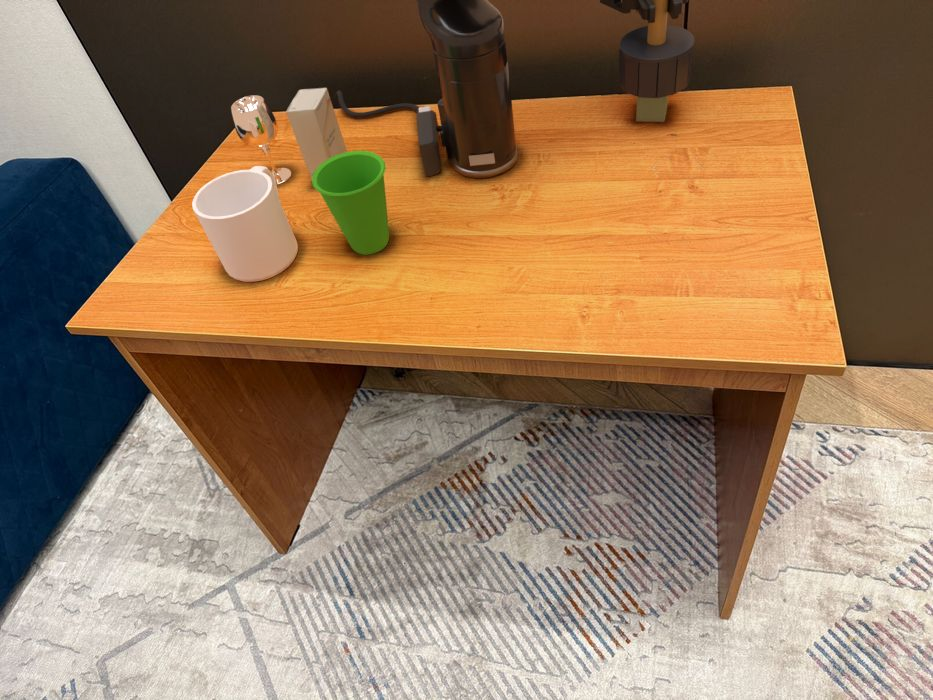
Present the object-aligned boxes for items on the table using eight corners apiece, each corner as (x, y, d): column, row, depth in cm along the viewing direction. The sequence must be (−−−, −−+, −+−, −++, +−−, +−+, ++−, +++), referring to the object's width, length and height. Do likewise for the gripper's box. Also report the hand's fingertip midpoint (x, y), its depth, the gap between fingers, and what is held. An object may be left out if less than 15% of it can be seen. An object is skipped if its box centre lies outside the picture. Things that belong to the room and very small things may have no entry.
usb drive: (418, 145, 96) (438, 141, 96) (415, 102, 104) (433, 99, 104) (425, 177, 100) (444, 174, 100) (421, 133, 108) (439, 130, 108)
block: (636, 121, 101) (637, 95, 98) (639, 106, 104) (640, 81, 101) (664, 122, 100) (666, 96, 97) (667, 107, 103) (669, 81, 100)
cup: (414, 224, 93) (396, 152, 85) (387, 269, 87) (366, 197, 79) (354, 217, 96) (331, 147, 87) (325, 261, 90) (298, 191, 82)
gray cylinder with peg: (630, 104, 95) (633, 11, 86) (610, 71, 102) (611, -19, 92) (700, 89, 95) (711, -6, 86) (676, 57, 102) (683, -35, 92)
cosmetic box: (340, 186, 101) (315, 110, 92) (312, 187, 102) (284, 112, 93) (351, 161, 105) (328, 86, 96) (324, 163, 106) (298, 88, 97)
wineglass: (251, 185, 105) (218, 113, 96) (271, 164, 108) (242, 92, 99) (282, 190, 103) (252, 116, 94) (302, 167, 106) (275, 94, 97)
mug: (277, 286, 88) (247, 222, 81) (211, 278, 91) (176, 216, 83) (319, 224, 96) (294, 159, 88) (256, 219, 99) (228, 156, 91)
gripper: (585, -57, 98) (610, -8, 86) (685, -75, 97) (723, -28, 85) (586, -2, 103) (609, 51, 92) (681, -19, 102) (716, 33, 91)
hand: (664, 13), depth 88 cm, fingers closed on gray cylinder with peg, 2 cm apart
